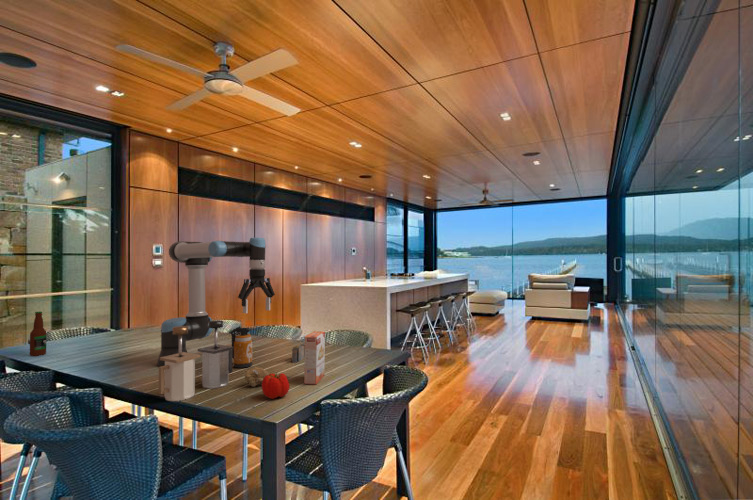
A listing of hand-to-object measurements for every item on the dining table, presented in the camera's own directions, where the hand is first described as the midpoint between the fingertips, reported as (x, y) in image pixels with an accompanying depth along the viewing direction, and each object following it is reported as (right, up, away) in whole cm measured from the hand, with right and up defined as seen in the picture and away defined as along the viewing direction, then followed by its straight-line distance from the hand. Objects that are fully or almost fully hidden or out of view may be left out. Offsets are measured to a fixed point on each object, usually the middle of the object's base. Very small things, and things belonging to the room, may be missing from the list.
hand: (256, 311), depth 197 cm
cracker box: (+32, -28, -18) cm, 46 cm away
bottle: (-137, -31, +33) cm, 144 cm away
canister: (-10, -29, +6) cm, 32 cm away
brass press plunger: (-19, -16, -39) cm, 46 cm away
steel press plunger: (-11, -17, -24) cm, 31 cm away
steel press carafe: (-10, -28, -23) cm, 37 cm away
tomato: (+20, -28, -40) cm, 52 cm away
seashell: (+8, -28, -23) cm, 37 cm away
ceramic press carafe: (-20, -28, -40) cm, 53 cm away
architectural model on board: (+17, -30, +19) cm, 39 cm away
